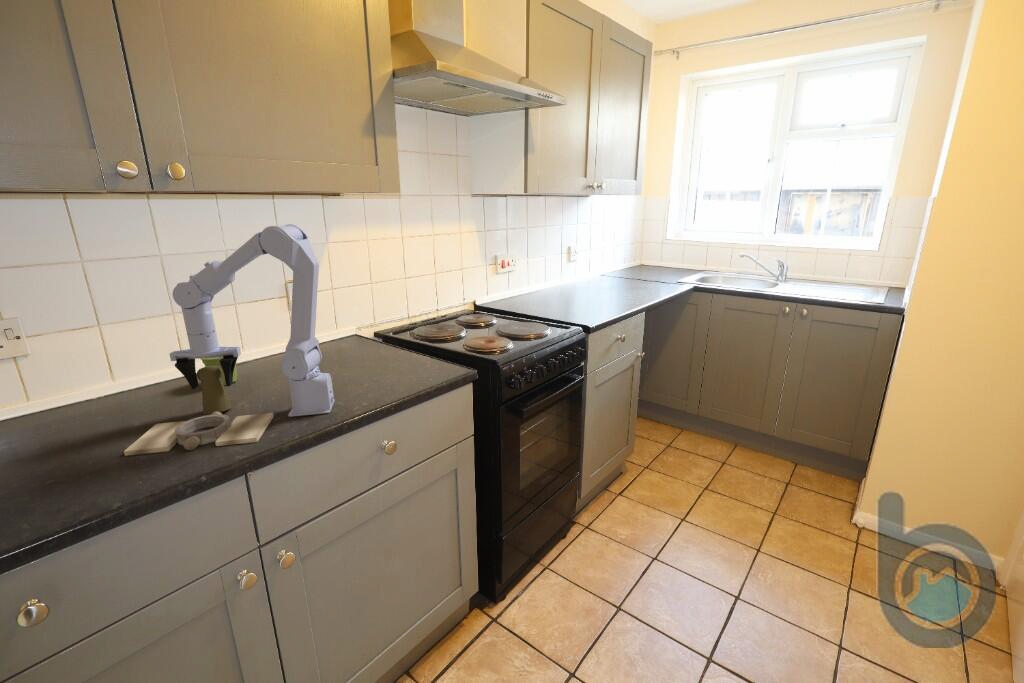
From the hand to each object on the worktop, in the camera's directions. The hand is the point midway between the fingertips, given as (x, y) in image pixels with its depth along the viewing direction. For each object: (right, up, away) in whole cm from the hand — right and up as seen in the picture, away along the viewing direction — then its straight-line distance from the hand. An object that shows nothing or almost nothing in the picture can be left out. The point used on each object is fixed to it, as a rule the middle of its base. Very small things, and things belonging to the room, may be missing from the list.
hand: (212, 386), depth 116 cm
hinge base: (+5, -10, -10) cm, 15 cm away
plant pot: (-10, -1, +22) cm, 24 cm away
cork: (0, -6, +2) cm, 7 cm away
